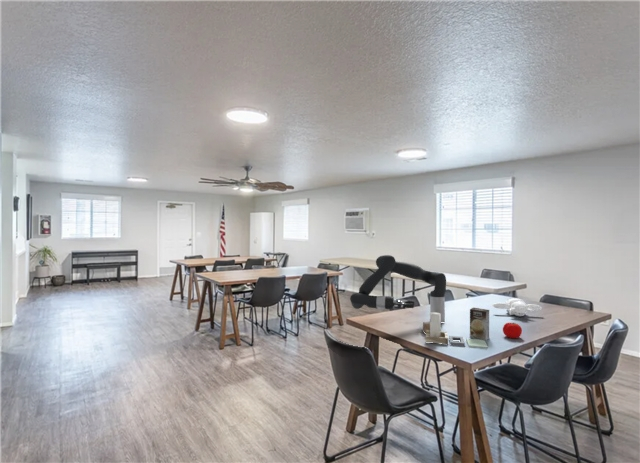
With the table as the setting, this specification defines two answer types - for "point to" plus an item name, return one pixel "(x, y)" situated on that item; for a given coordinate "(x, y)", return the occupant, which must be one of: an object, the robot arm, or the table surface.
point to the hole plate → (456, 341)
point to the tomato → (512, 330)
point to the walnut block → (426, 326)
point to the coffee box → (479, 323)
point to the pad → (477, 343)
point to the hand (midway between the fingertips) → (414, 304)
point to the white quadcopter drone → (517, 306)
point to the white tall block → (435, 324)
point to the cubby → (437, 338)
